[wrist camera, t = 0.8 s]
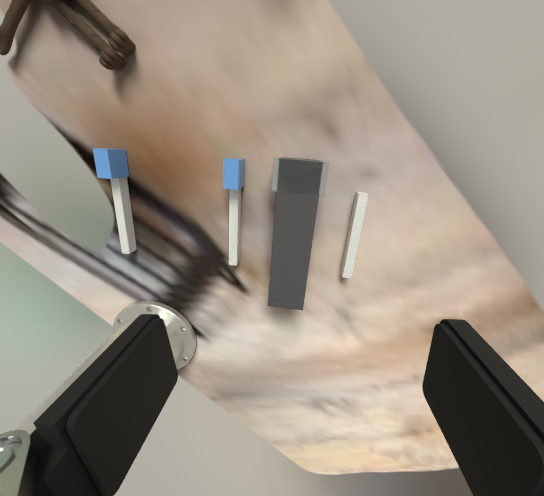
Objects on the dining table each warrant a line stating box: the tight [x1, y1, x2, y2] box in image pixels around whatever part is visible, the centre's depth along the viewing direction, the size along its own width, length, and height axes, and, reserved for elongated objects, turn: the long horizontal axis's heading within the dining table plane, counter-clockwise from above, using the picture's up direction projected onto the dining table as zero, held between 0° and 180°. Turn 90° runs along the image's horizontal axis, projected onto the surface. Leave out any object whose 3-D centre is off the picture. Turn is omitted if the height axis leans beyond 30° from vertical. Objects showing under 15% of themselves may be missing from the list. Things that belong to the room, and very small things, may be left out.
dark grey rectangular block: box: [268, 157, 329, 310], centre depth 28 cm, size 16×5×5 cm, turn 175°
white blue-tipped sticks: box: [93, 148, 368, 278], centre depth 29 cm, size 12×29×3 cm, turn 85°
